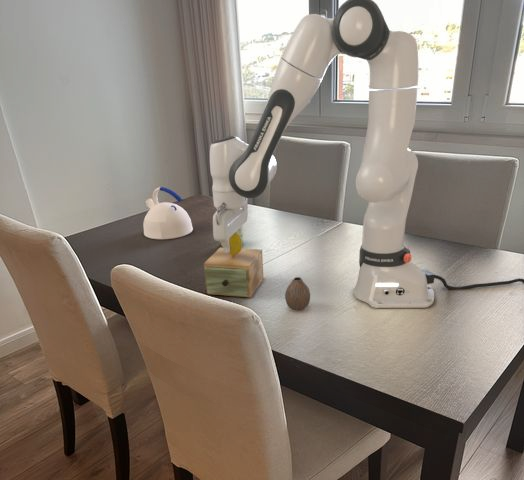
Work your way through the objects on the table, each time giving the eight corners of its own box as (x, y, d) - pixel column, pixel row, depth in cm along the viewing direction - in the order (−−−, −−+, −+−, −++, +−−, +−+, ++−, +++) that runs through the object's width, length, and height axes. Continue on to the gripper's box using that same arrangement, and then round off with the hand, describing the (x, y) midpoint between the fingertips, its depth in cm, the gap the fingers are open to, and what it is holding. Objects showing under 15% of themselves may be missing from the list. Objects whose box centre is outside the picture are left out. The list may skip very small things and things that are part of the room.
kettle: (168, 222, 215) (161, 179, 205) (203, 228, 204) (198, 184, 194) (133, 235, 201) (124, 190, 192) (168, 242, 190) (161, 195, 181)
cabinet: (250, 297, 144) (248, 266, 139) (207, 294, 147) (203, 263, 142) (263, 279, 155) (262, 249, 150) (222, 276, 159) (220, 247, 154)
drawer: (246, 297, 142) (244, 272, 137) (205, 294, 145) (202, 269, 141) (259, 279, 153) (258, 255, 149) (221, 276, 156) (219, 253, 152)
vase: (303, 315, 132) (302, 285, 128) (281, 310, 136) (280, 281, 131) (314, 305, 137) (314, 276, 133) (293, 300, 141) (292, 272, 136)
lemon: (240, 259, 143) (238, 233, 139) (222, 259, 144) (219, 233, 140) (244, 253, 148) (243, 227, 144) (227, 252, 149) (224, 227, 145)
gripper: (227, 209, 128) (231, 259, 135) (250, 190, 145) (253, 236, 152) (204, 208, 130) (210, 258, 137) (230, 190, 146) (233, 235, 154)
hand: (232, 246), depth 145 cm, fingers open, 8 cm apart
